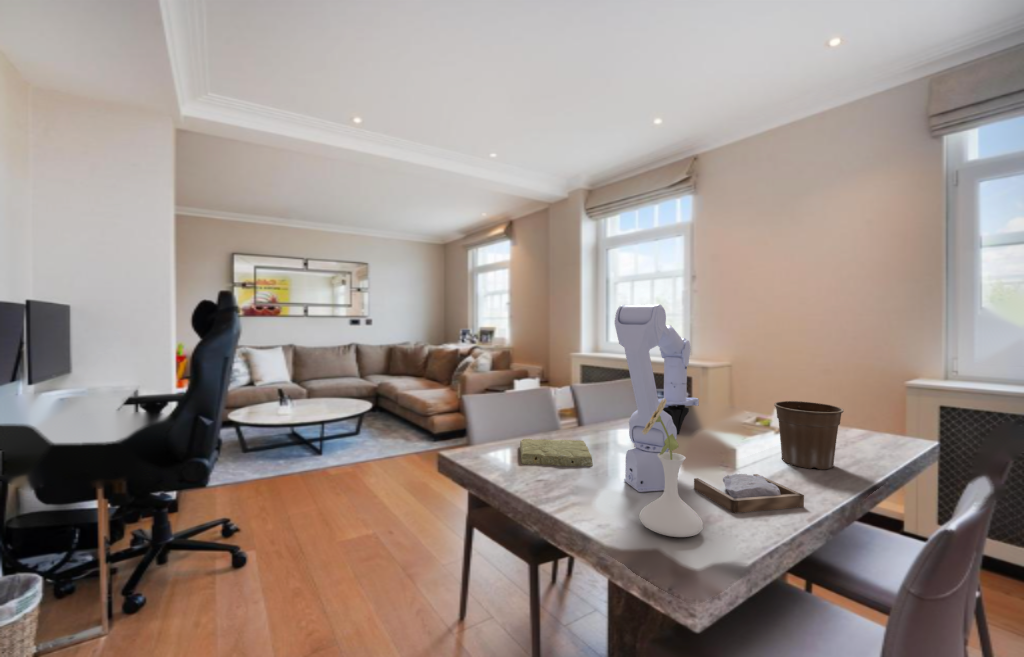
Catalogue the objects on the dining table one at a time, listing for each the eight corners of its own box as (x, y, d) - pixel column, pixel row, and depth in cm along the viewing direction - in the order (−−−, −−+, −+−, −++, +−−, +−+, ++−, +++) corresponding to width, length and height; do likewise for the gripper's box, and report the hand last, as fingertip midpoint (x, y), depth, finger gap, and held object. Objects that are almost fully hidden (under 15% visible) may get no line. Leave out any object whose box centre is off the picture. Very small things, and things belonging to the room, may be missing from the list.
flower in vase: (657, 511, 92) (659, 390, 92) (713, 530, 84) (715, 397, 83) (622, 530, 83) (624, 396, 83) (681, 554, 75) (683, 405, 75)
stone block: (738, 514, 96) (787, 507, 94) (733, 491, 96) (782, 484, 95) (719, 495, 107) (762, 488, 106) (715, 475, 108) (758, 468, 106)
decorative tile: (519, 448, 139) (519, 437, 139) (584, 449, 139) (584, 438, 139) (519, 467, 121) (519, 454, 121) (594, 468, 120) (594, 455, 120)
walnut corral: (733, 513, 91) (733, 500, 91) (693, 488, 105) (694, 478, 105) (803, 506, 95) (804, 495, 95) (756, 484, 108) (756, 474, 108)
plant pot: (831, 477, 114) (832, 414, 114) (763, 461, 126) (764, 404, 126) (850, 464, 124) (851, 407, 124) (786, 451, 137) (787, 399, 137)
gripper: (663, 386, 112) (662, 439, 113) (707, 383, 118) (707, 435, 118) (645, 382, 119) (644, 433, 119) (688, 380, 124) (687, 429, 124)
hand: (674, 433), depth 119 cm, fingers closed
